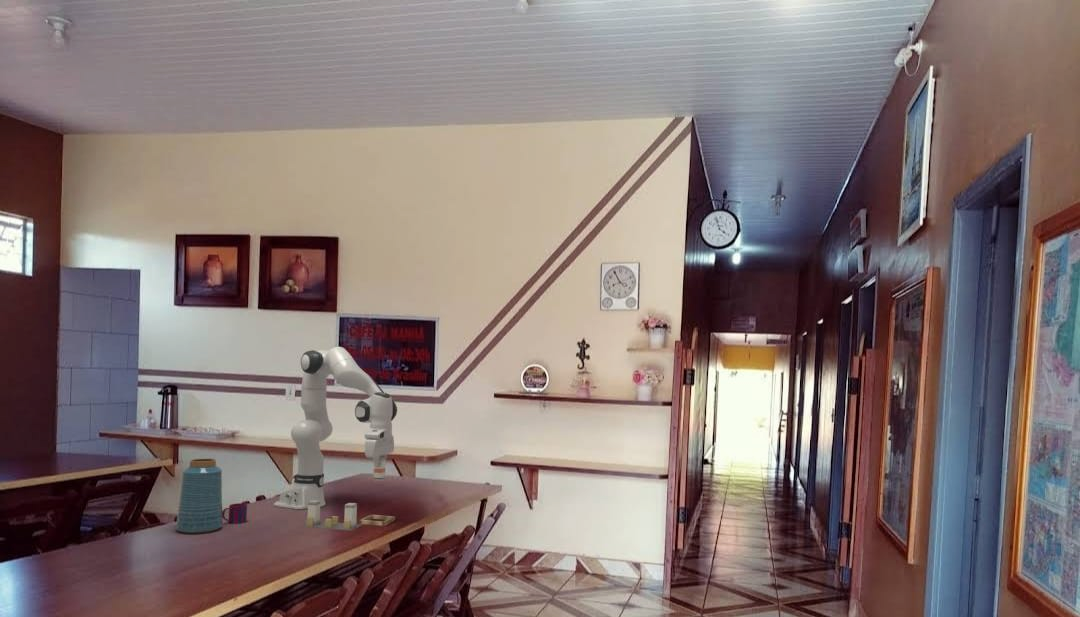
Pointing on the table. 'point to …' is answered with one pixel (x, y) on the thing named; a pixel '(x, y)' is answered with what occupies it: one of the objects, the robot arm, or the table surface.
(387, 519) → the tray
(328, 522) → the fuse board
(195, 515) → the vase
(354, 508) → the fuse right
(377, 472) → the fuse marked
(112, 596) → the table surface
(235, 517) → the mug
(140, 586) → the table surface
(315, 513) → the block
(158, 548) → the table surface
